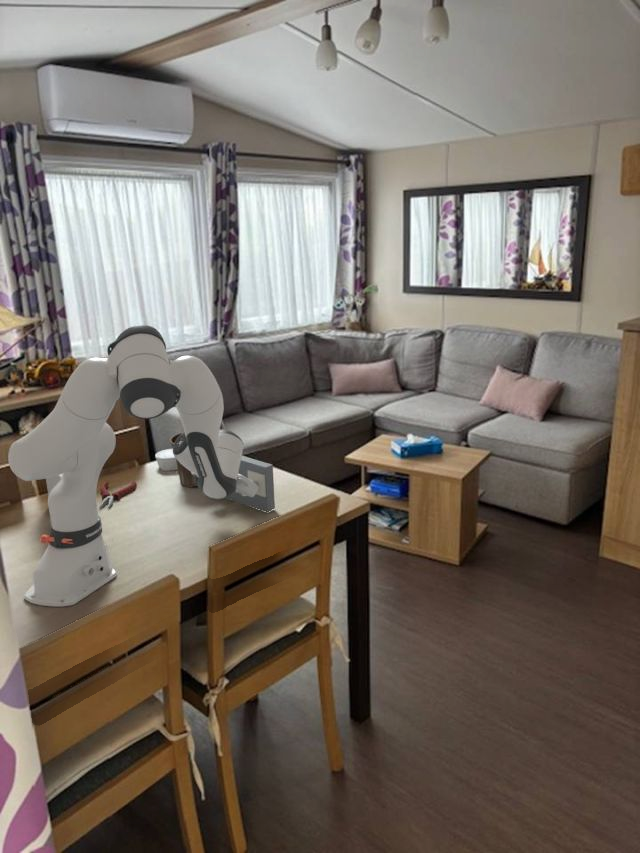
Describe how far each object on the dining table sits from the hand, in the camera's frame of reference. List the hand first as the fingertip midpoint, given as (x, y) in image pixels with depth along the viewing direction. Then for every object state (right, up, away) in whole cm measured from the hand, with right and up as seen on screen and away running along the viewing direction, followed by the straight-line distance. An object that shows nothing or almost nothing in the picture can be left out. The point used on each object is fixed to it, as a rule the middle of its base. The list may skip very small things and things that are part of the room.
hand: (242, 491), depth 189 cm
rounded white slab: (-54, -9, +5) cm, 55 cm away
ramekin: (-32, +4, +47) cm, 57 cm away
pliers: (-47, -4, +21) cm, 51 cm away
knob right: (+2, -1, +3) cm, 4 cm away
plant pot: (-19, 0, +32) cm, 37 cm away
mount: (-1, -5, +13) cm, 14 cm away
